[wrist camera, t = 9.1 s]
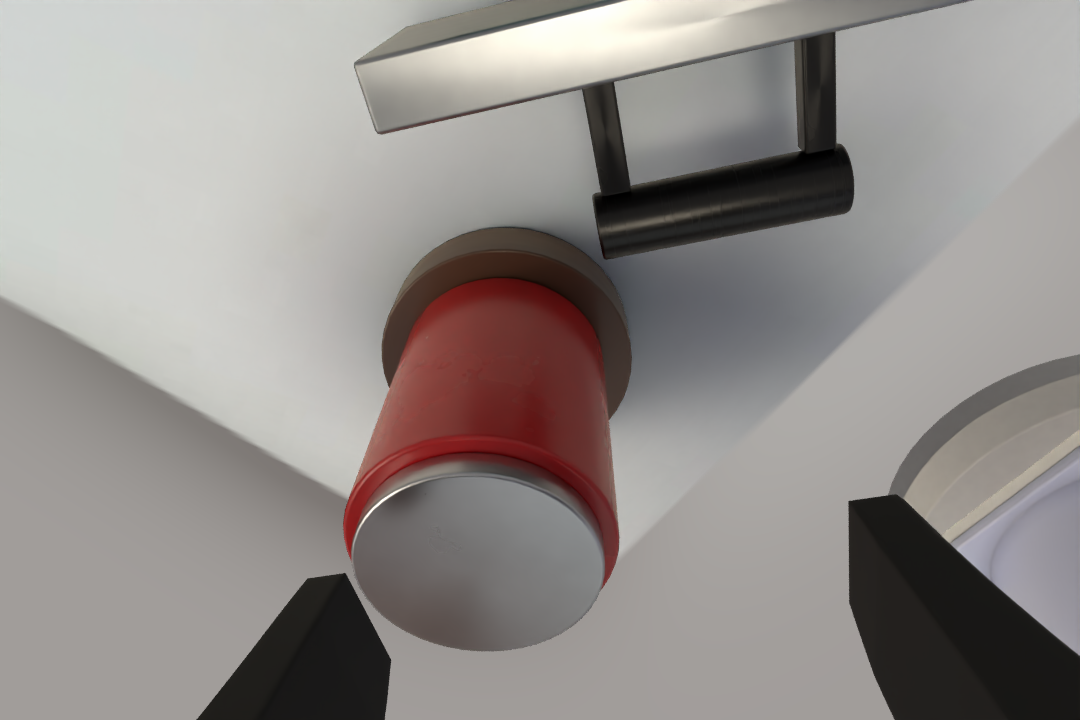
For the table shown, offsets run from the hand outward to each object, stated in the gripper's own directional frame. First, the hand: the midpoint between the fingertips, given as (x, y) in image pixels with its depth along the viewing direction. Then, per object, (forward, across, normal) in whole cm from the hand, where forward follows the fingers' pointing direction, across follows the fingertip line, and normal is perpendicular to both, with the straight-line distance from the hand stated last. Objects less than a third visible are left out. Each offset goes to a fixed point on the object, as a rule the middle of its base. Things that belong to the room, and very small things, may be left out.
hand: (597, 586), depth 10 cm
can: (+9, +2, +1) cm, 9 cm away
